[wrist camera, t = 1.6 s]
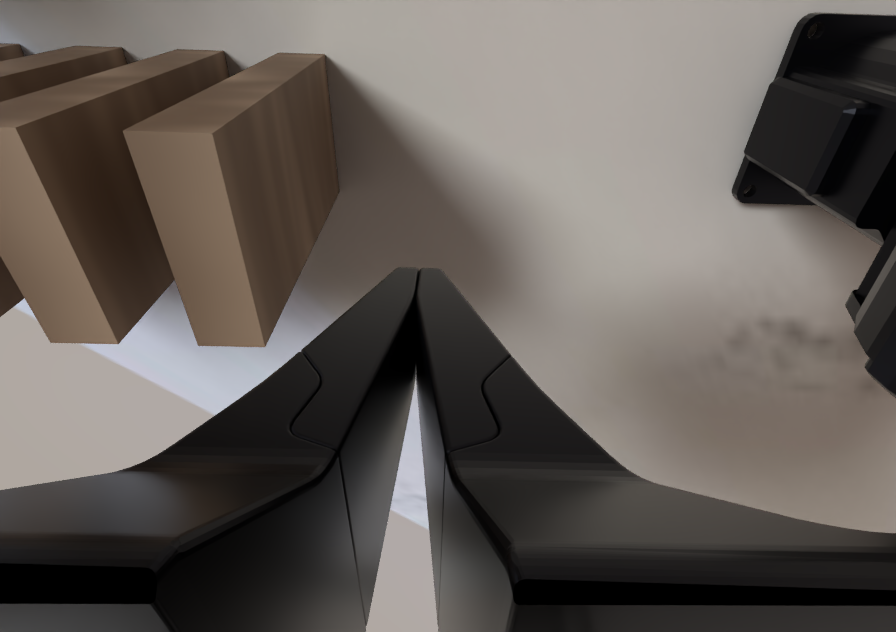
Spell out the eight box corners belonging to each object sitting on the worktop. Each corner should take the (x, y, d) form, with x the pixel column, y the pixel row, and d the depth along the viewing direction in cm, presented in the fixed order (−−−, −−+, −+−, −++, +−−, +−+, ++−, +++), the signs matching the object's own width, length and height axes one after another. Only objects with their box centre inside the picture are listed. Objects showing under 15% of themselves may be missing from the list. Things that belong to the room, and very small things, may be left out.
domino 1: (121, 47, 17) (-186, 121, 9) (166, 187, 20) (-31, 340, 11) (74, 46, 17) (-278, 119, 9) (126, 185, 20) (-99, 339, 11)
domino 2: (224, 50, 17) (14, 127, 9) (253, 189, 20) (118, 344, 12) (177, 49, 17) (-77, 124, 9) (213, 188, 20) (50, 342, 12)
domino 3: (325, 54, 17) (212, 133, 9) (339, 191, 20) (264, 347, 12) (278, 52, 17) (122, 130, 9) (300, 190, 20) (198, 345, 12)
